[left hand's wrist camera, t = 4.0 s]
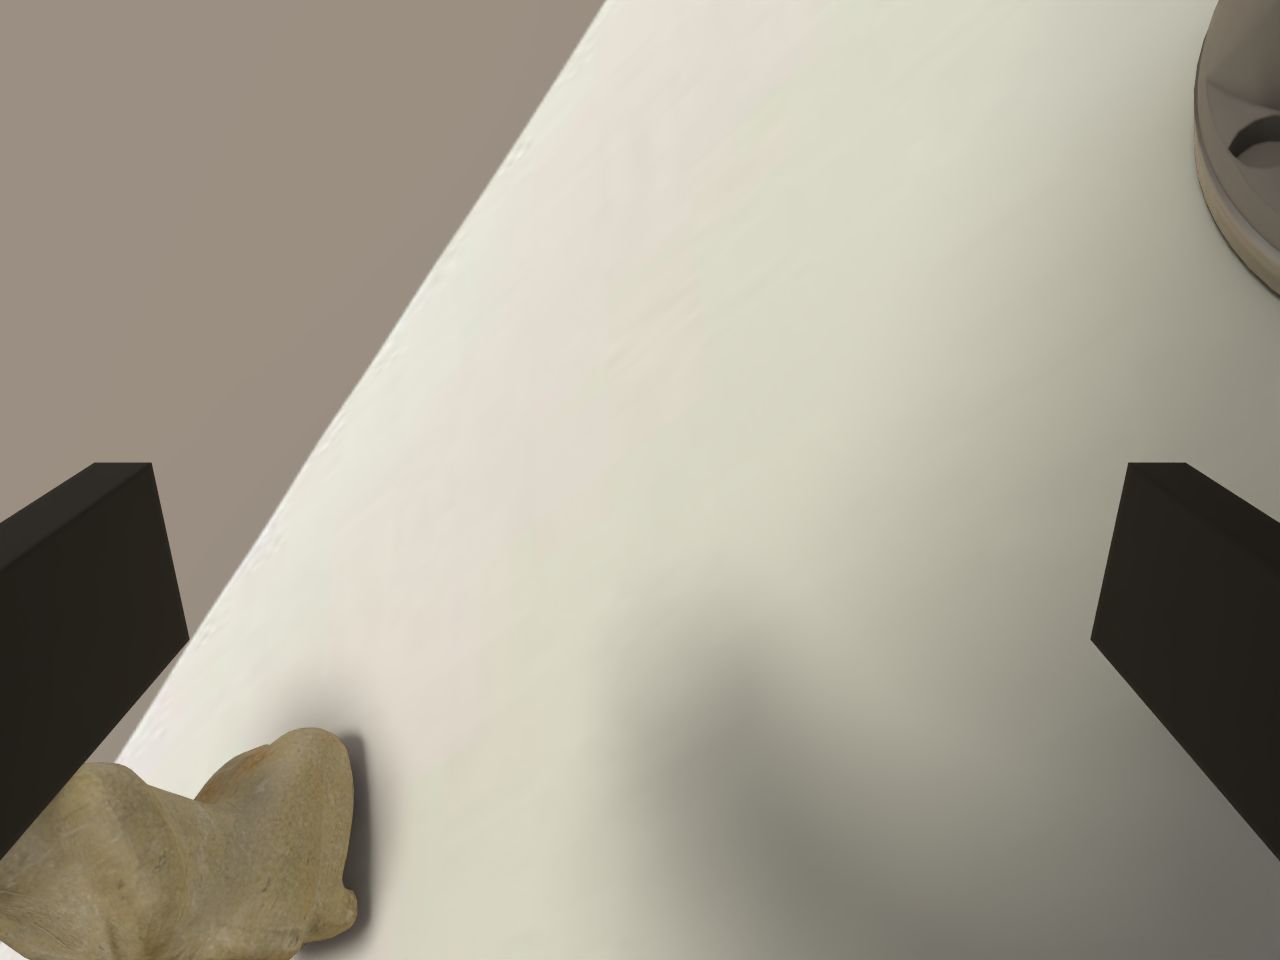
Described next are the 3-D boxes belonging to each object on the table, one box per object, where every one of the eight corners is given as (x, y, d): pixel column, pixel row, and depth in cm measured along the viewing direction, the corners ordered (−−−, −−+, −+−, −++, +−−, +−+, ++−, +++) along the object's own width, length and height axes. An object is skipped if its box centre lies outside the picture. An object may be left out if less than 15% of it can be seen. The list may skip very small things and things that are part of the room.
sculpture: (381, 716, 31) (-137, 621, 19) (395, 949, 28) (-228, 1013, 16) (261, 765, 33) (-274, 707, 21) (260, 987, 30) (-382, 1070, 18)
